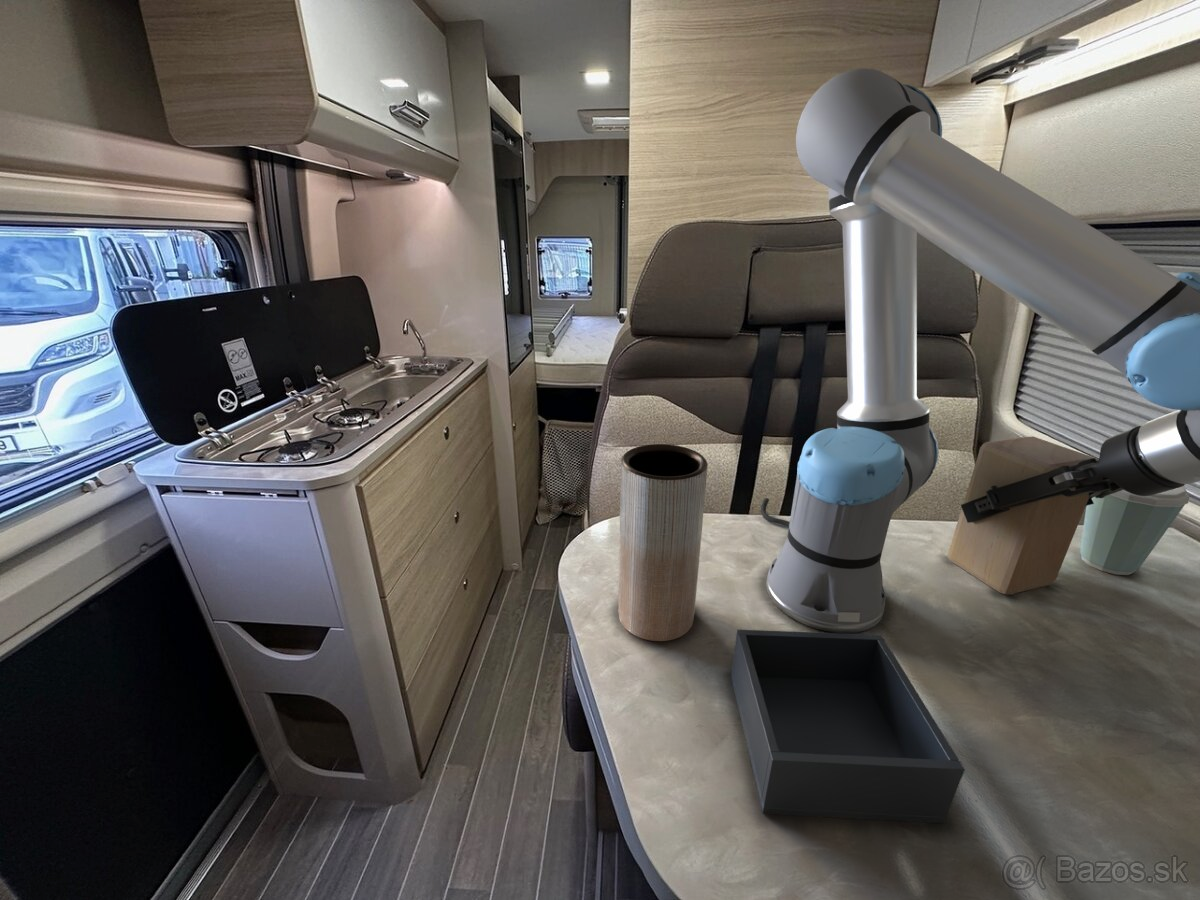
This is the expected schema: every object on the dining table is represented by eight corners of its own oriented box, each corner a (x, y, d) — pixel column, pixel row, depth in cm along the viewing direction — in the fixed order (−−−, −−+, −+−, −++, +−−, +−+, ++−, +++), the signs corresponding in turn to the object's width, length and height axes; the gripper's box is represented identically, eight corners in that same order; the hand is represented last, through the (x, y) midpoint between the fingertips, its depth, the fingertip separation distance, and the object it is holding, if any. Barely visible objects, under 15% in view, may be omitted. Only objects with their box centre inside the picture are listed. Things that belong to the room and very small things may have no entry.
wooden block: (1056, 586, 77) (1108, 459, 69) (1004, 599, 74) (1052, 468, 66) (992, 549, 85) (1031, 433, 78) (943, 559, 83) (978, 440, 75)
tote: (730, 675, 61) (737, 629, 58) (869, 681, 60) (881, 634, 58) (762, 813, 47) (772, 760, 44) (944, 823, 46) (965, 769, 43)
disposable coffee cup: (1167, 591, 76) (1214, 498, 70) (1074, 574, 79) (1112, 484, 73) (1131, 552, 85) (1170, 467, 79) (1049, 538, 88) (1080, 456, 83)
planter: (607, 601, 73) (608, 449, 64) (672, 585, 76) (682, 439, 68) (636, 651, 65) (642, 484, 56) (708, 631, 68) (724, 470, 59)
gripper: (1095, 495, 55) (940, 542, 75) (1263, 477, 59) (1074, 527, 79) (1062, 430, 58) (922, 492, 78) (1225, 417, 62) (1051, 479, 82)
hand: (998, 510), depth 79 cm, fingers closed on wooden block, 11 cm apart
